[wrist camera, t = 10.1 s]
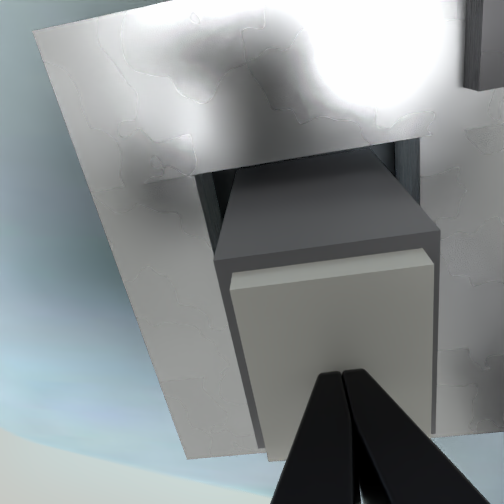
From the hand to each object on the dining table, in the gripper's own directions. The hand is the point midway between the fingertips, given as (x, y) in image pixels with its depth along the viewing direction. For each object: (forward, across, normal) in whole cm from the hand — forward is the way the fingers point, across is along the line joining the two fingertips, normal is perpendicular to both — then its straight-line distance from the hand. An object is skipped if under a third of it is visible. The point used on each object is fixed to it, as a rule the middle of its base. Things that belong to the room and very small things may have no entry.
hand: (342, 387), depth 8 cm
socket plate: (+7, -1, 0) cm, 7 cm away
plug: (+7, 0, 0) cm, 7 cm away
